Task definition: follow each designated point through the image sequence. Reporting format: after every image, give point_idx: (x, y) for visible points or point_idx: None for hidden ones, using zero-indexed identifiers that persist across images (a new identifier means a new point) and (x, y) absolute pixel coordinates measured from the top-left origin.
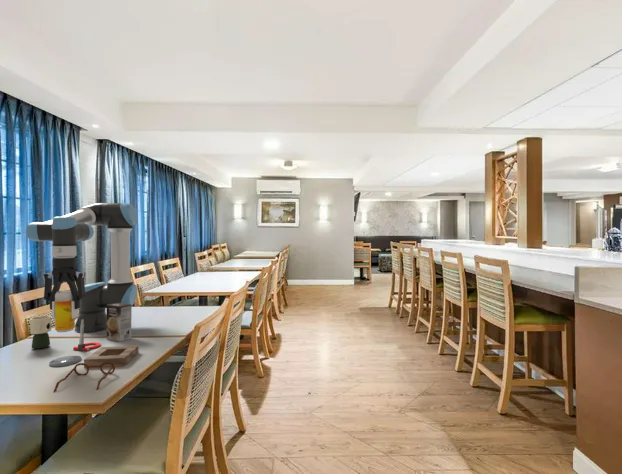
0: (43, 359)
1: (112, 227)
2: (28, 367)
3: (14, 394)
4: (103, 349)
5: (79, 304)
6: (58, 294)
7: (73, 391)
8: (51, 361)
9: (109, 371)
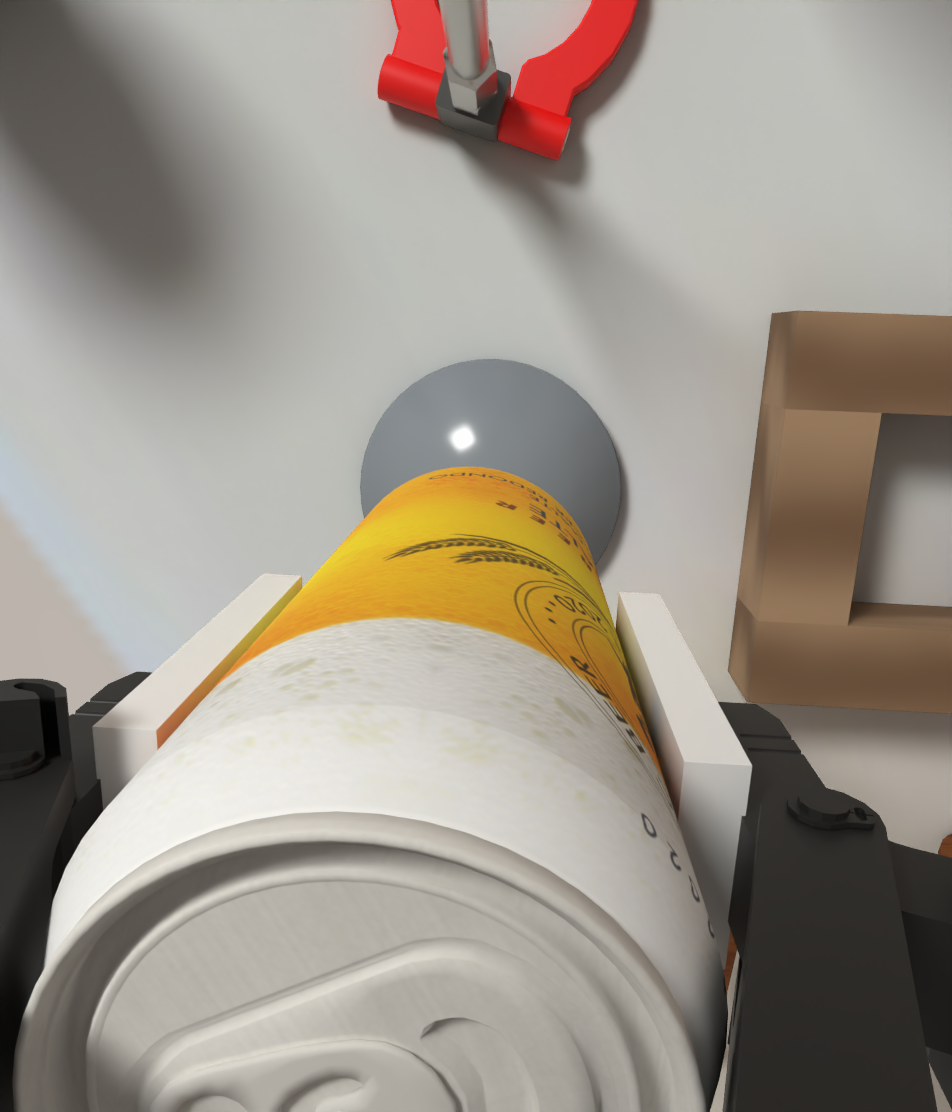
0: (232, 378)
1: None
2: (232, 577)
3: None
4: (843, 414)
5: (797, 768)
6: None
7: None
8: (370, 505)
9: None
